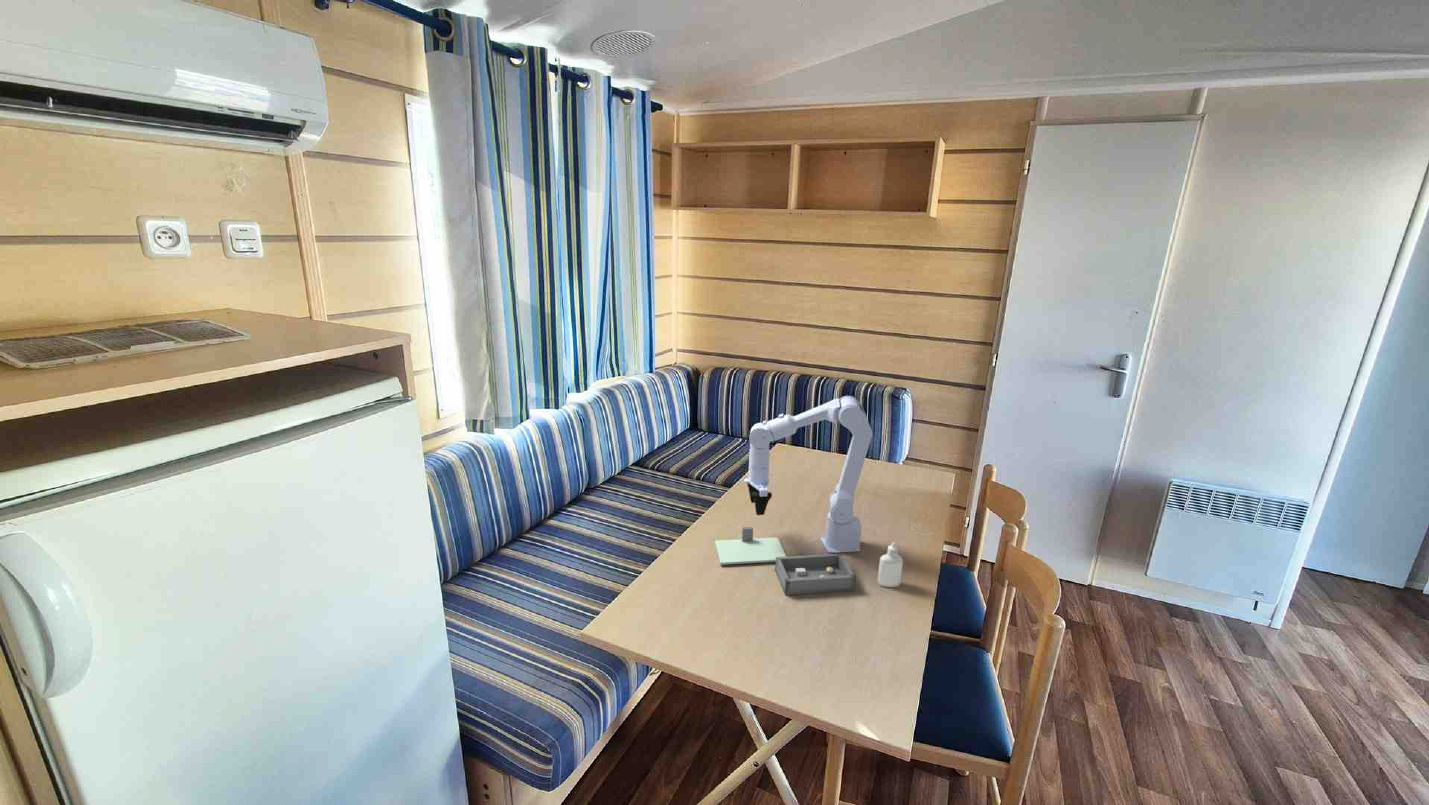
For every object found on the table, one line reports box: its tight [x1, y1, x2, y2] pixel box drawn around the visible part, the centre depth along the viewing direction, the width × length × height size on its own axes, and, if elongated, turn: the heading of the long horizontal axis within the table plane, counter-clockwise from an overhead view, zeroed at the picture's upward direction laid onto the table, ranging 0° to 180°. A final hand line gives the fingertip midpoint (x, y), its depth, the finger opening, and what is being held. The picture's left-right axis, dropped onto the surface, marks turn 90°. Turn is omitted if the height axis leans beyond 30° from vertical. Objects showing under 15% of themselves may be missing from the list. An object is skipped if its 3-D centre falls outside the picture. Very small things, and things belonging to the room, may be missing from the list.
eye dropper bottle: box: [877, 541, 904, 588], centre depth 147 cm, size 4×6×12 cm
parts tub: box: [774, 553, 856, 596], centre depth 149 cm, size 18×11×4 cm, turn 97°
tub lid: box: [714, 526, 787, 566], centre depth 161 cm, size 19×12×5 cm, turn 97°
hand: (757, 508), depth 167 cm, fingers open, 7 cm apart
